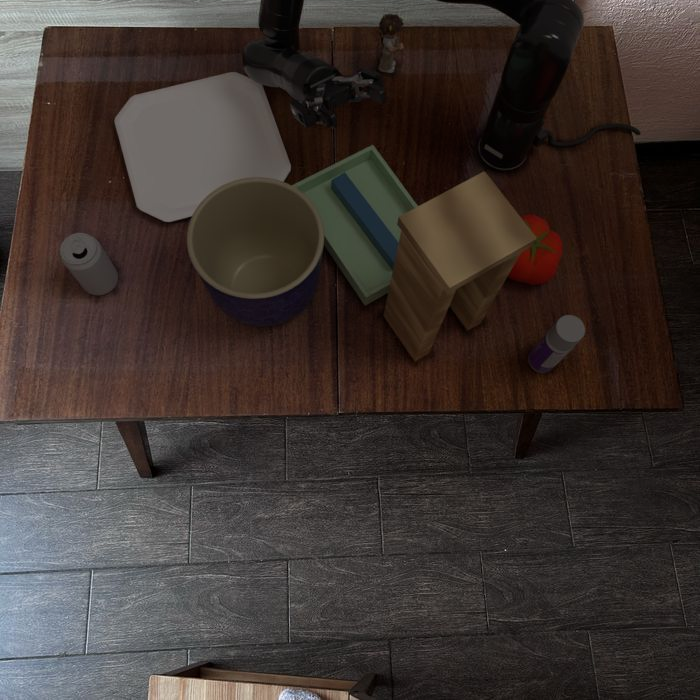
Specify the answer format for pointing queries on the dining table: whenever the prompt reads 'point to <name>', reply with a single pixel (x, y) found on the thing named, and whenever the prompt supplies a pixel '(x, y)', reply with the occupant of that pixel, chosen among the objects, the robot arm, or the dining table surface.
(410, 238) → the shelf
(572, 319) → the container
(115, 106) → the dining table surface
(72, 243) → the beverage can
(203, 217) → the planter
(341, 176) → the bar
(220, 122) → the plate
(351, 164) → the tray
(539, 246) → the tomato
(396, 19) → the toy
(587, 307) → the dining table surface
